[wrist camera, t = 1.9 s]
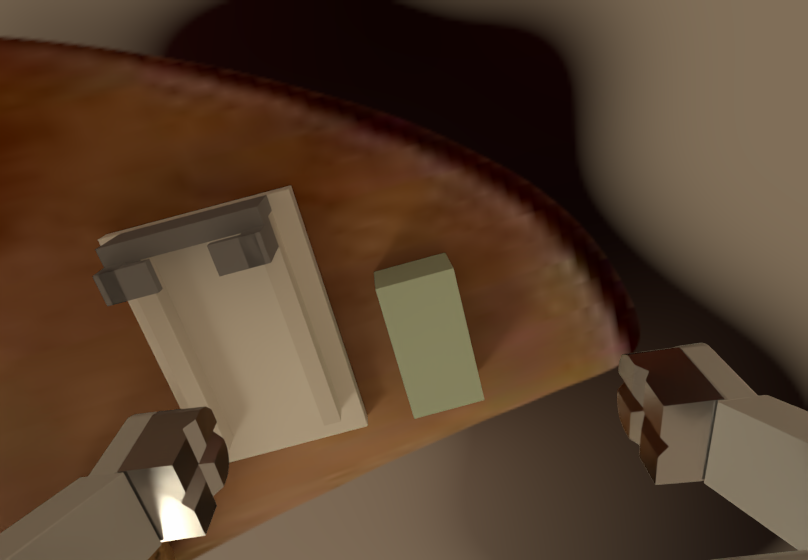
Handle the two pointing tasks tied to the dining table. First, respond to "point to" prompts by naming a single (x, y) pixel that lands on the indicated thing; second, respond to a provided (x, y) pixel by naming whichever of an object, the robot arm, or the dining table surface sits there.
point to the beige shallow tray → (238, 320)
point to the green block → (429, 334)
